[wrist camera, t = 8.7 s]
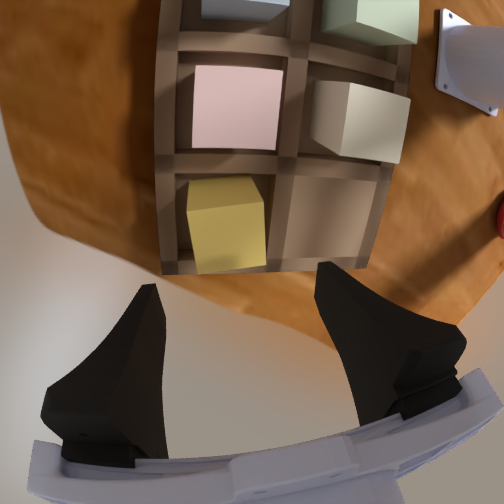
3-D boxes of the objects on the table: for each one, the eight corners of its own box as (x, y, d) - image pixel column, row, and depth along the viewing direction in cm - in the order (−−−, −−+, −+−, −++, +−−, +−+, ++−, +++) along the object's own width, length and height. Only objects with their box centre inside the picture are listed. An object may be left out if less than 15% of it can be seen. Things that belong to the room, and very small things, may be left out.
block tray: (397, -13, 13) (414, -17, 11) (354, 253, 26) (365, 268, 24) (174, -54, 11) (172, -68, 9) (164, 257, 23) (162, 274, 21)
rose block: (262, 73, 16) (283, 70, 12) (257, 132, 18) (275, 149, 14) (197, 70, 15) (195, 65, 11) (194, 131, 18) (192, 147, 13)
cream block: (368, 91, 17) (410, 99, 13) (359, 143, 20) (398, 163, 15) (315, 80, 17) (350, 82, 13) (308, 136, 19) (339, 155, 15)
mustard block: (249, 173, 20) (263, 201, 16) (252, 225, 22) (266, 265, 18) (189, 180, 19) (186, 211, 15) (197, 233, 21) (197, 274, 17)
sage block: (376, -1, 14) (419, -12, 9) (373, 46, 16) (417, 44, 11) (324, -17, 13) (359, -38, 9) (320, 32, 15) (356, 21, 11)
